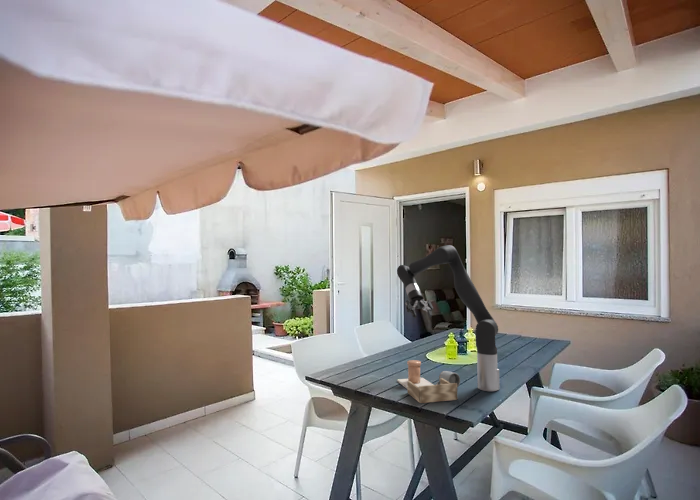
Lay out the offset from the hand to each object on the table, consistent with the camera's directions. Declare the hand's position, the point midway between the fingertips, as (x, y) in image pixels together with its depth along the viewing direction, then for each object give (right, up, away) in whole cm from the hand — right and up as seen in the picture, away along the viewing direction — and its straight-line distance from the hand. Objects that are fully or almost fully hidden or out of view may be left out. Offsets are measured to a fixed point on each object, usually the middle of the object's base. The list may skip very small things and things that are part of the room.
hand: (423, 317), depth 205 cm
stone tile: (-5, -32, -8) cm, 34 cm away
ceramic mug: (+9, -33, -13) cm, 36 cm away
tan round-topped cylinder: (-6, -31, -7) cm, 33 cm away
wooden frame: (-1, -32, -26) cm, 41 cm away
